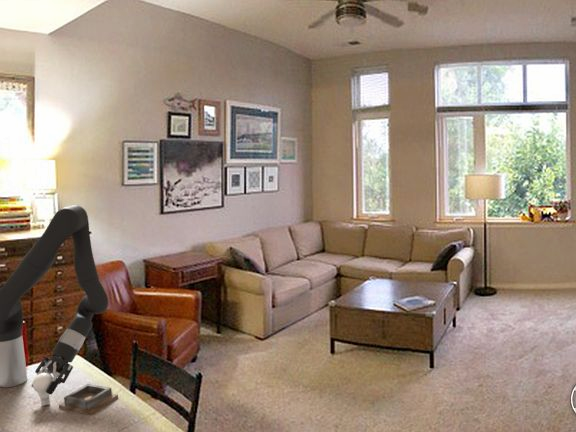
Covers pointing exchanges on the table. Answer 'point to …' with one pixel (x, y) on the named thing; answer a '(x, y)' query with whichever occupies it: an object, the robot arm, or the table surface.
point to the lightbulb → (42, 386)
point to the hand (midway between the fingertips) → (41, 390)
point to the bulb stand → (88, 399)
